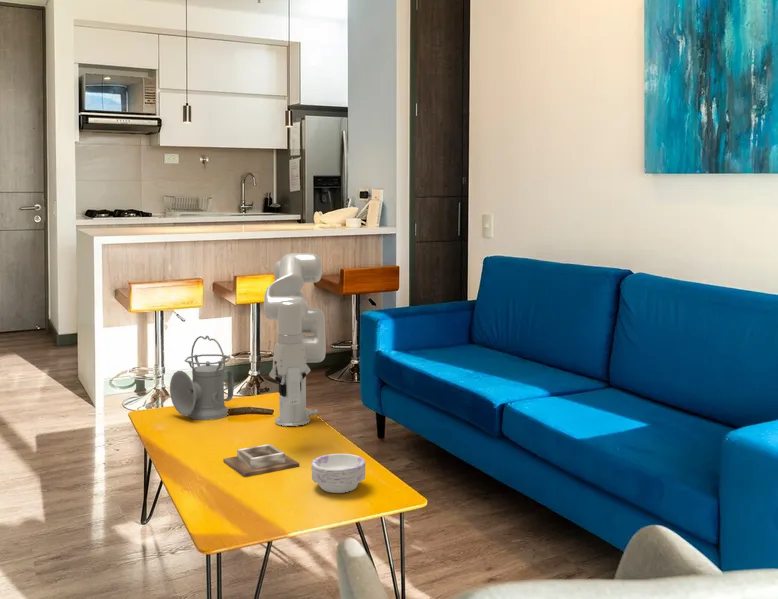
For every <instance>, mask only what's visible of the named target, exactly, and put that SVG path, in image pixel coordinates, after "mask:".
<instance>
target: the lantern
mask: <svg viewBox="0 0 778 599" xmlns="http://www.w3.org/2000/svg"><path fill="white" fill-rule="evenodd" d="M199 339H203V340H208V341H214V342H215V343H216V344H217V346H218V348H219V350H220V353H221V354H220V353H215V354H213V353H211V354H210V353H209V354H208V353H207V354H204V353H202V354H195V355H194V348H195V346H196V343H197V341H198V340H199ZM199 357H222V360H218V361H214V362H210V361H208V360H207V361H206V362H200V361H199V359H198V358H199ZM189 359H191V360H189ZM230 359H231V356H228V355H226V354H224V352H223V348H222V346H221V344H220V343H219V342H218V340H217V339H216V338H210V336H209V335H205V336H202V335H200V336H197V337H196V338H195V339H194V341H193V343H192V346H191V354H190V356H187V357H186V358H184V362H185V363H187V364H189V367H190V368H191V370H192V371H191V372H192V374H191V375H192V376H191V377H192V379H191V377H190V376H189V374H188V373H186V372H185V371H183V370H177V371H176V372H174V373H173V374H172V376H171V379H170V381H169V382H170V383H169V393H170V394H169V396H170V399H171V403H172V404H173V407H174V409H175V410H176V412H177V413H178V414H180V415H182V416H187V417H188V418H189V419H192V420H197V419H198V420H199V421H211V420H210V419H214V420H220V419H224V418H227V417H228V416H227V411H229V408H228V407H227V406H226V405H225V403H226V402H230V401H231V400H232V399H233V396H234V392H235V391H234V388H235V385H234V384H235V383H234V375H233V373H232V371H230V370H228V369H226V363H228V362H229V361H230ZM194 360H195V361H194ZM217 364H218V365H217ZM195 365H197V366H195ZM225 373H227V397H226V398H225V388H224V386H225V384H224V383H225V380H224V379H225ZM226 416H227V417H226ZM223 417H224V418H223ZM219 418H220V419H219Z"/></svg>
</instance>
